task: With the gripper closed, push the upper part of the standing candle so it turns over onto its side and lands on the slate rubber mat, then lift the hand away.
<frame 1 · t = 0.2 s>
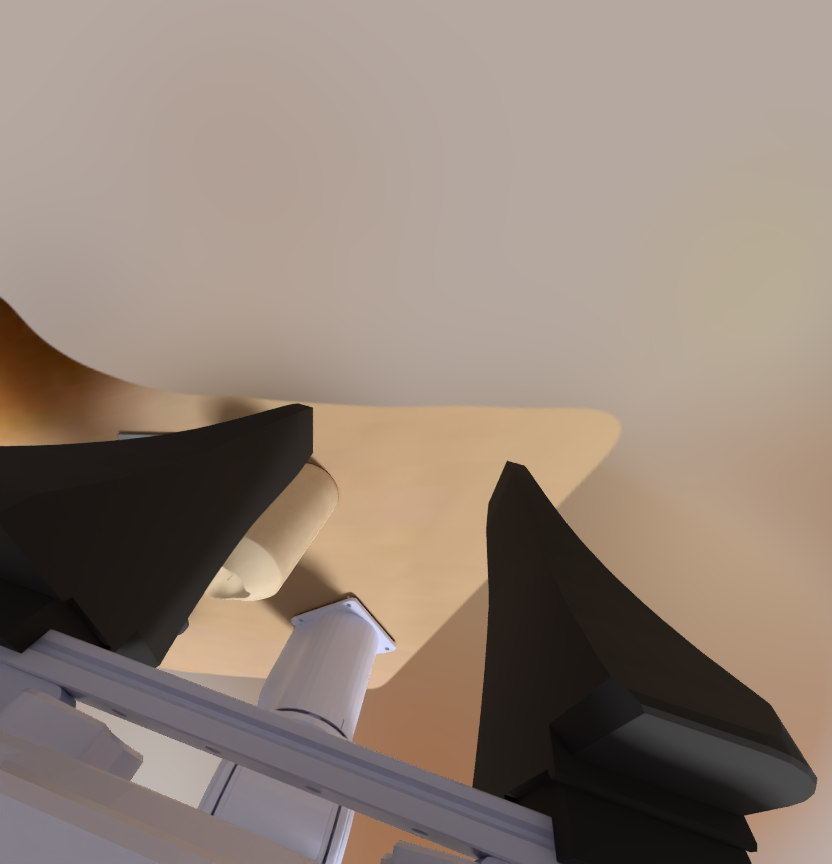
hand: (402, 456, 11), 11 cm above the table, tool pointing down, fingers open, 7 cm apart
candle: (310, 488, 26), on the table
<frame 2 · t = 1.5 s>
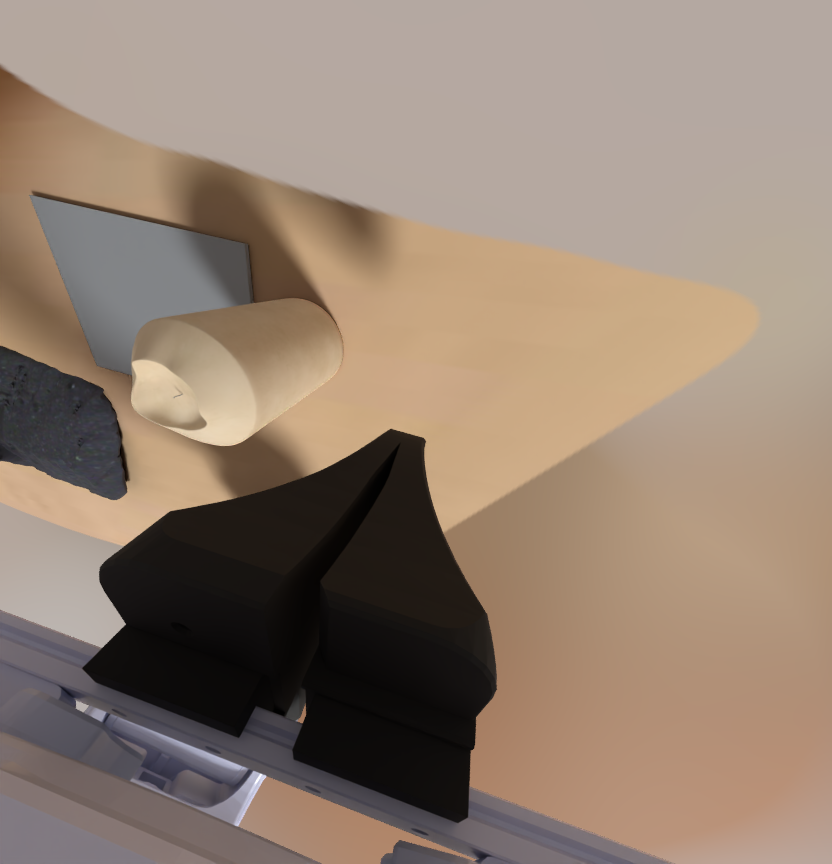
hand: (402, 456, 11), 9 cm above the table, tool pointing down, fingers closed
candle: (307, 342, 19), on the table
slate mat: (162, 314, 20), on the table
dark slate chunk: (42, 413, 30), on the table
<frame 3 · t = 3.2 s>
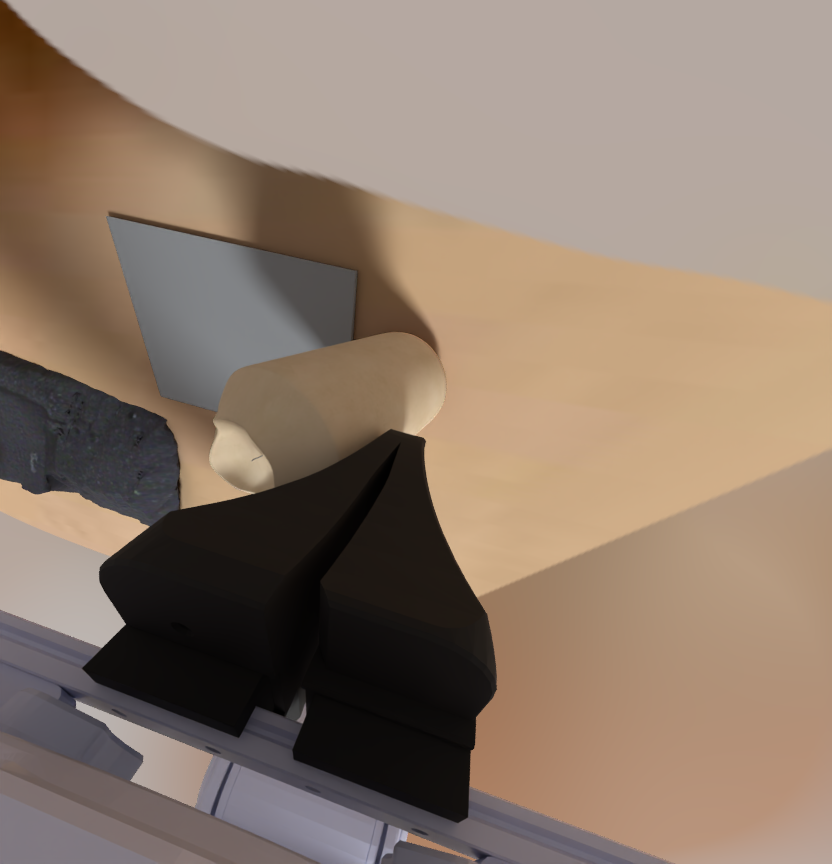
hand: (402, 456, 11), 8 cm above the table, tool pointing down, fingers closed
candle: (404, 380, 17), point 1 cm above the table
slate mat: (242, 344, 19), on the table
dark slate chunk: (90, 439, 28), on the table
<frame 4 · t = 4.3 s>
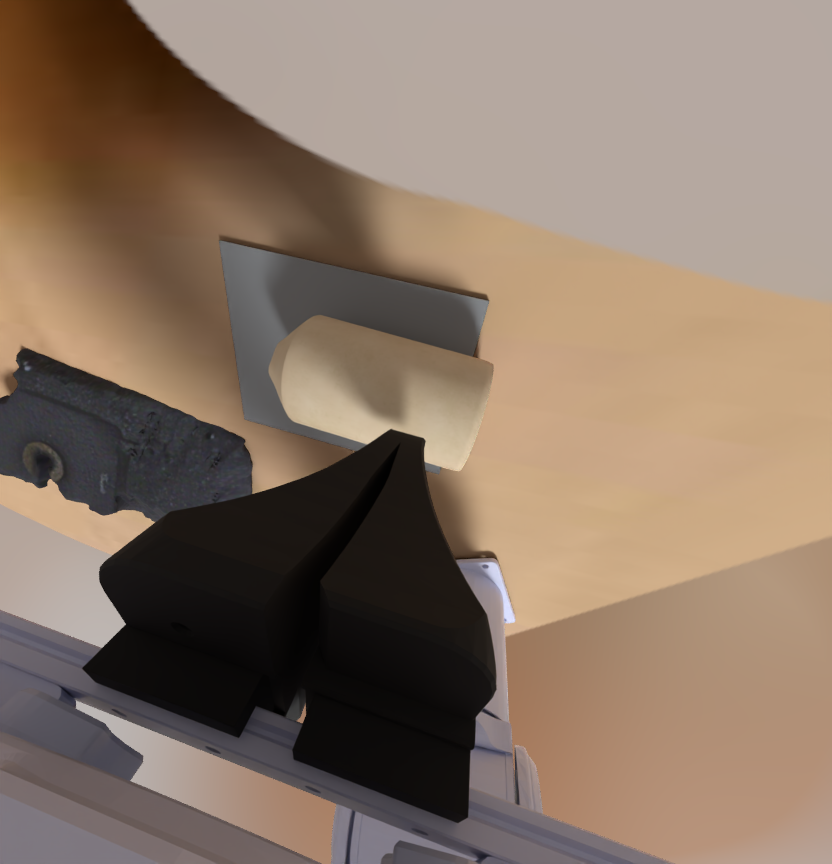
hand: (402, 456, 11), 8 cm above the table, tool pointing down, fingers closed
candle: (479, 419, 14), point 3 cm above the table, touching slate mat
slate mat: (344, 370, 18), on the table
dark slate chunk: (153, 456, 27), on the table
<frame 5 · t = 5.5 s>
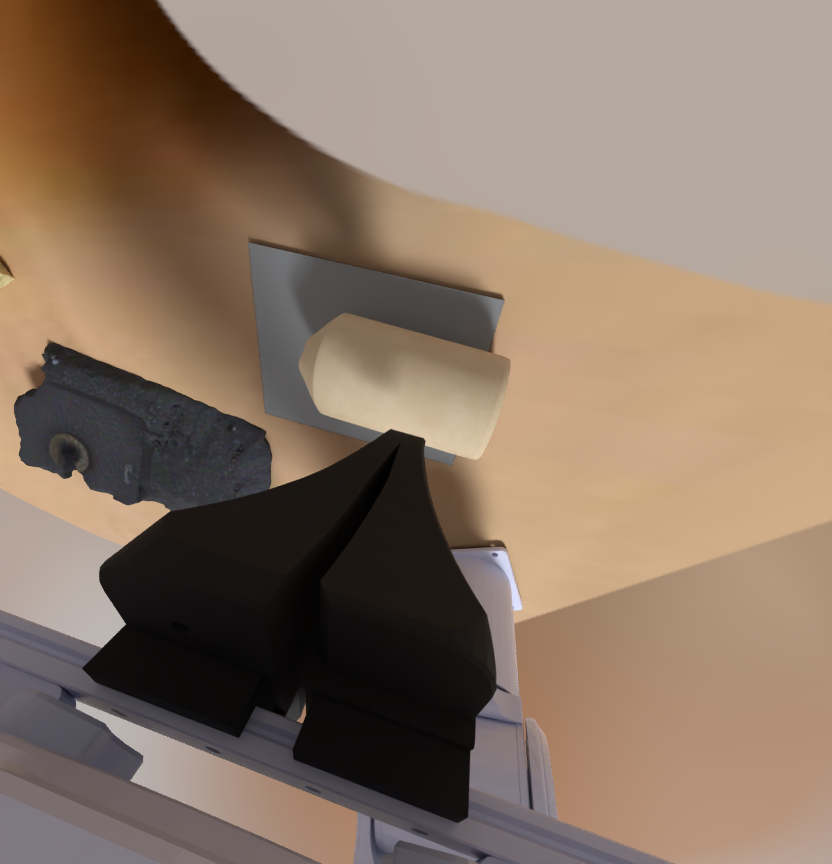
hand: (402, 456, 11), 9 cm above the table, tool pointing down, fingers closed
candle: (495, 411, 15), point 3 cm above the table, touching slate mat
slate mat: (364, 366, 19), on the table
dark slate chunk: (173, 448, 28), on the table
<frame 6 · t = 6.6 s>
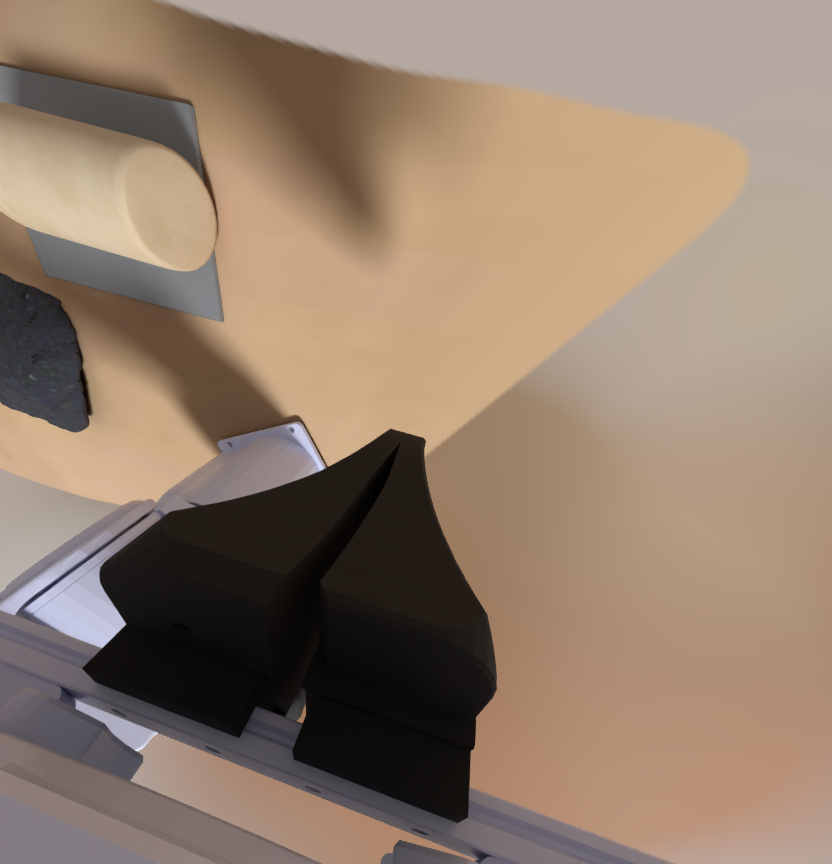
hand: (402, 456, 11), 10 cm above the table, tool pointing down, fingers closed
candle: (181, 215, 15), point 3 cm above the table, touching slate mat
slate mat: (109, 206, 19), on the table
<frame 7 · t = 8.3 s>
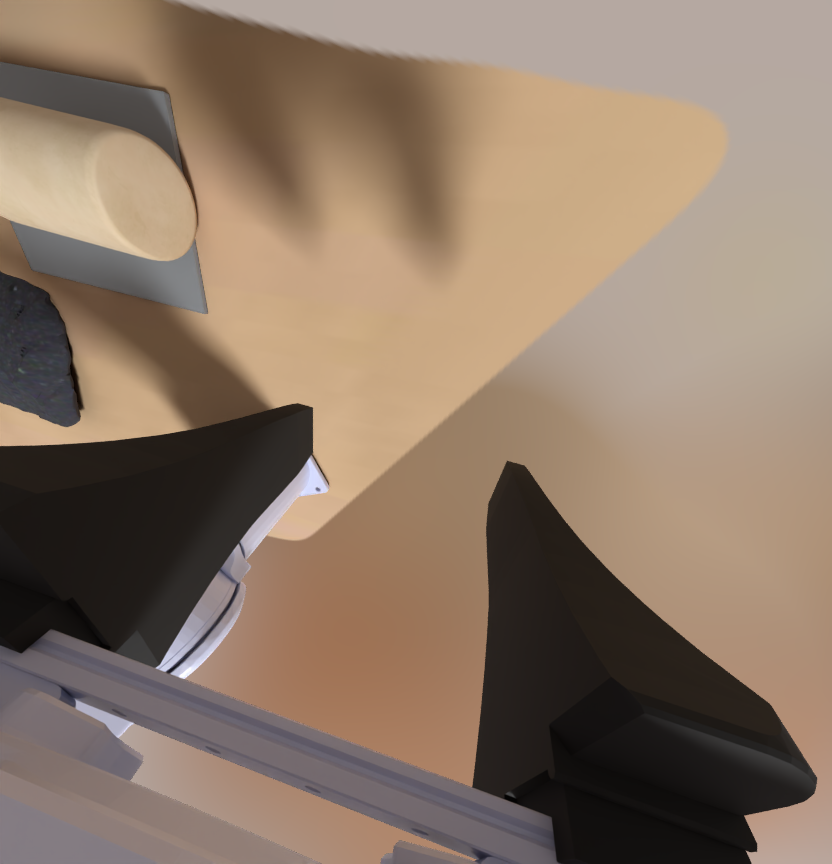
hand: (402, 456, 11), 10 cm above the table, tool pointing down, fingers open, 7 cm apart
candle: (157, 204, 15), point 3 cm above the table, touching slate mat
slate mat: (90, 198, 19), on the table
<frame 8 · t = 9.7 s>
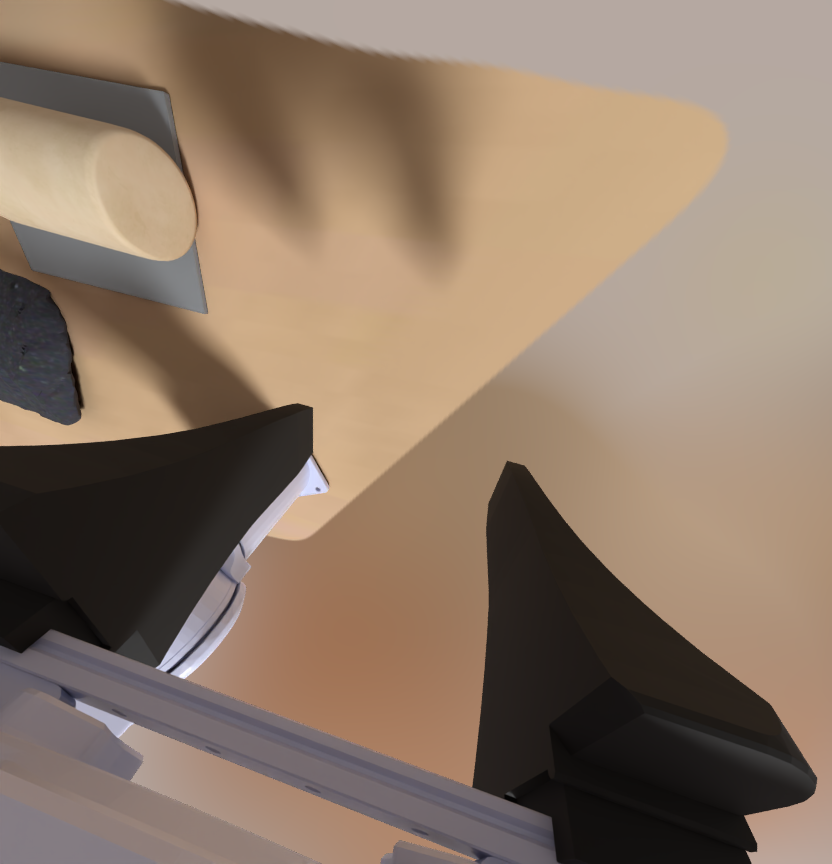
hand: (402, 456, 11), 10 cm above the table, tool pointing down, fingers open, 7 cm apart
candle: (157, 204, 15), point 3 cm above the table, touching slate mat
slate mat: (90, 198, 19), on the table
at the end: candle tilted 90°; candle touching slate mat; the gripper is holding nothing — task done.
